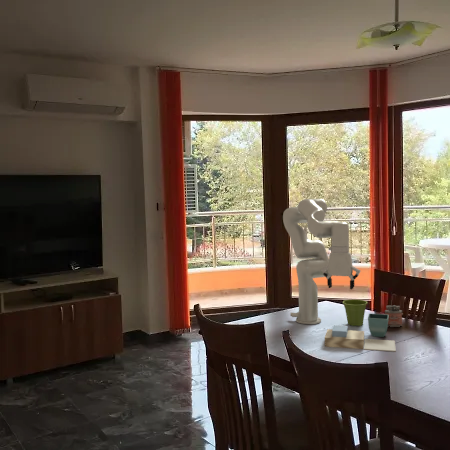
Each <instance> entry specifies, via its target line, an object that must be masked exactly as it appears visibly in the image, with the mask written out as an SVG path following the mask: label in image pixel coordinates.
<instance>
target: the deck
mask: <svg viewBox="0 0 450 450" xmlns="http://www.w3.org/2000/svg"><path fill="white" fill-rule="evenodd" d="M332 330H333V328H332V329H330V328H329V329H328V328H327V330H326V332H325V335H324V347H326V348H337V349H338V348H339V349H340V348H342V349H356V350H357V349H358V350H364V344H365V331H364V330H351V329H348V333H347V337H332Z"/></svg>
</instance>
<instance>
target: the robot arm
mask: <svg viewBox="0 0 450 450" xmlns="http://www.w3.org/2000/svg"><path fill="white" fill-rule="evenodd" d="M327 211H328V205H327V202H326V200H324V199H323V198H304V199H302V200H300V201H299V202H298V204H297V206H293V207H292V206H291V207H288V208H286V209H285V210H284V211H283V215H282V220H283V225H284V228H285V230H286V232H287V233H288V235H289V238H290V241H291V245H292V248H293V249H292V250H293V252H294V254H295V257H296V258H297V259H300V260H299V261H298V262H297V264H296V267H295V269H296V275H297V283H298V311H297V312H290V313H289V314H290V317H292V318H295V322H297V323H299V324H302V325H317V324H320V323H322V319H321V318H320V317H319V304H318V303H319V300H318V299H319V297H318V296H319V295H318V289H319V288H318V284H317V283H316V282H315V280H314V279H317V278H326V280H327V281H326V283H327V285H326V286H327V287H328V289H330V288H332V287H333V282H332V281H333V278H332V277H348V278H349V279H350V280H349V289H350V290H353V289H354V288H355V280H357V279H356V278H358V276H359V275H360V273H361V269H358V268H357V267H356V266H353V260H352V259H353V258H352V255H351V252H350V237H349V236H350V233H349V231H350V230H349V229H350V226H349V223H348V222H345V221H343V222H342V221H339V220H326V221H324V220H325V218H326V213H327ZM299 224H306V225H307V226H306V227H307V229H308V232H309V233H310V234H311V235H313V236H314V237H315V238H317V239H308V235H307V231H305V229H304V228H303V227H302V226H301V225H299ZM328 238H331V246H329V247H327V248H328V251H330V253H329V256H328V253H327V250H326V246H325V244H324V242H322V241H321V240H319V239H328ZM353 272H355V274H354V275H353Z"/></svg>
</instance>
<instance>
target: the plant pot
mask: <svg viewBox="0 0 450 450" xmlns="http://www.w3.org/2000/svg"><path fill="white" fill-rule="evenodd" d="M342 304H343V306H344V310H345V315H346V319H347V321H346V322H347V325H349V326H352V327H355V326H356V327H357V326H359V327H360V326H363V325H364V318H365V313H366V308H367V305H368V301H366V300H364V299H357V298H356V299H344V300H343V301H342Z"/></svg>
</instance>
